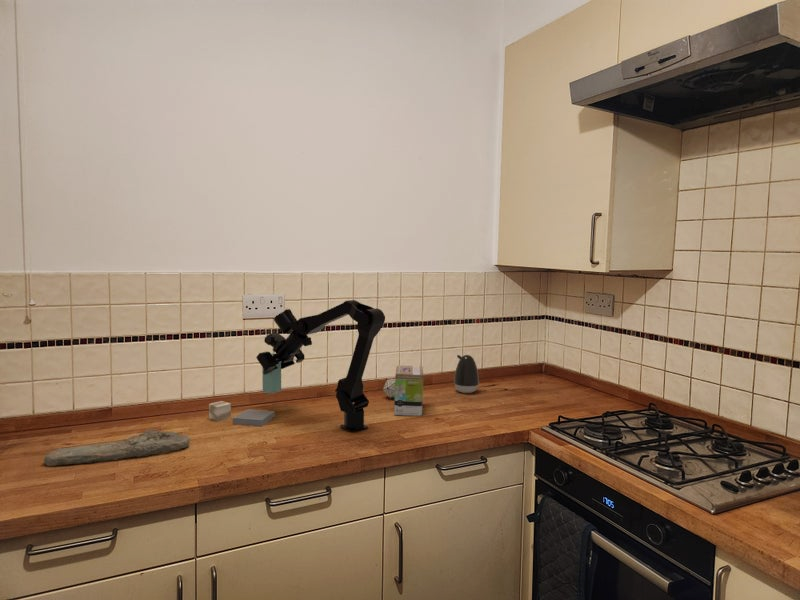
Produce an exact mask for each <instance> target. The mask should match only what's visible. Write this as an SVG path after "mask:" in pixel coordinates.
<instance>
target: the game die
mask: <svg viewBox="0 0 800 600" xmlns="http://www.w3.org/2000/svg"><path fill="white" fill-rule="evenodd" d="M385 380H386V381H385V384H384V386H383V388H380V391H381V392H382V391H383V392H384V393H385V394H386V396H387V397H388V400H389V399H390V400H391V399H392V398H393V399H394V398H395V378H387V377H385Z"/></svg>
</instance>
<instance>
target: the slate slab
mask: <svg viewBox="0 0 800 600" xmlns="http://www.w3.org/2000/svg"><path fill="white" fill-rule="evenodd" d="M275 413H276V411H275V410H264V409H263V410H262V409H249V408H248V409H245V410H243V411H242V412H240V413H238V414H237V415H235V416H234V417H232V424H233V425H237V424H241V426H250V425H252V427H263V426H264V424H265V425H266V424H268V423H269V422H270V421H271V420H273V419H274V418H275V417H276V416H275V415H276V414H275ZM273 417H274V418H273ZM272 418H273V419H272ZM269 420H270V421H269ZM268 421H269V422H268Z"/></svg>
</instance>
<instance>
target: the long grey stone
mask: <svg viewBox="0 0 800 600" xmlns="http://www.w3.org/2000/svg"><path fill="white" fill-rule="evenodd" d="M190 442H191V439H190V437H189V435H186V434H180V433H176V432H174V431H165V432H164V431H163V430H156V431H155V429H154V428H152V429H151V428H150V429H148V430H146V431H143V432H141V433H140V434H138V435H134V436H131V437H128V438H127V439H122V440H120V441H109V442H103V443H101V442H100V443H96V444H87V445H80V446H79V445H78V446H72V447H61V448H57V449H55V450H52V451H50V452H48V453H46V454H45V456H44V458H43V461H44V465H45V466H47V467H55V466H63V465H65V466H68V465H80V464H92V463H101V462H109V461H111V460H112V461H117V460H118V461H119V460H123V459H124V460H125V459H128V458H133V457H136V458H141V457H147V456H151V455H163V454H169V452H174V451H179V450H181V449H184V448H187V447H189V445H190Z"/></svg>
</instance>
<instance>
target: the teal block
mask: <svg viewBox="0 0 800 600" xmlns="http://www.w3.org/2000/svg"><path fill="white" fill-rule="evenodd" d="M270 353H271V355H272V356H273V354H276V352H270ZM276 366H277V368H278V369H276V370H274V371H272V372H270V373H268V374H265V375H264V374H263V370H264V369H263V367H262V366H261V367H262V369H261V370H262V371H261V372H262V393H268V394H272V395H273V394H275V393H278V392H282V369H281V362H279V364H278V365H276Z"/></svg>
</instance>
